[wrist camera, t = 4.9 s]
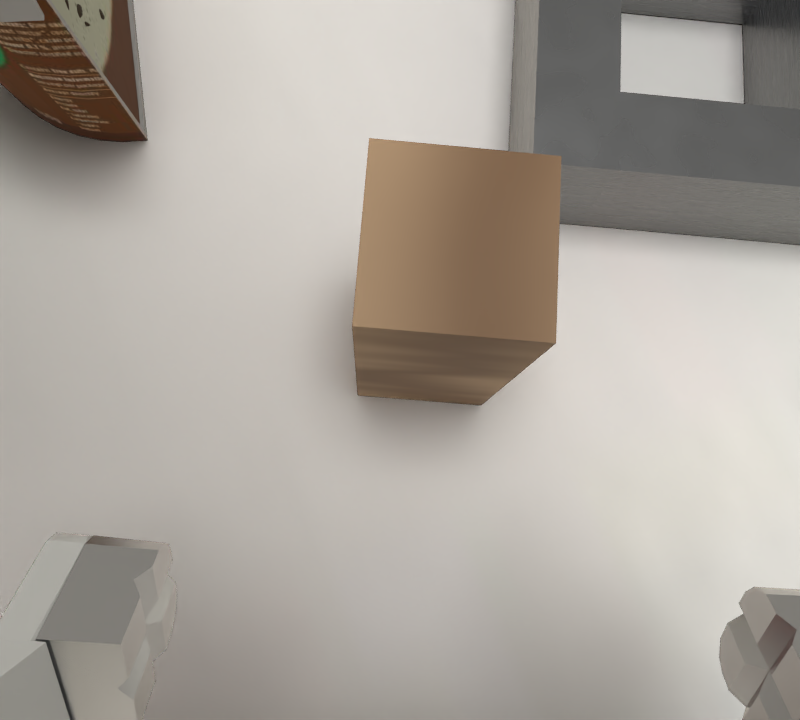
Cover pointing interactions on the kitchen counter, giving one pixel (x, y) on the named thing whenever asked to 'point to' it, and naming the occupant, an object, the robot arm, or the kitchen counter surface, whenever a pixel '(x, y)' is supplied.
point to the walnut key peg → (454, 270)
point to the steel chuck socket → (661, 122)
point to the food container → (75, 65)
